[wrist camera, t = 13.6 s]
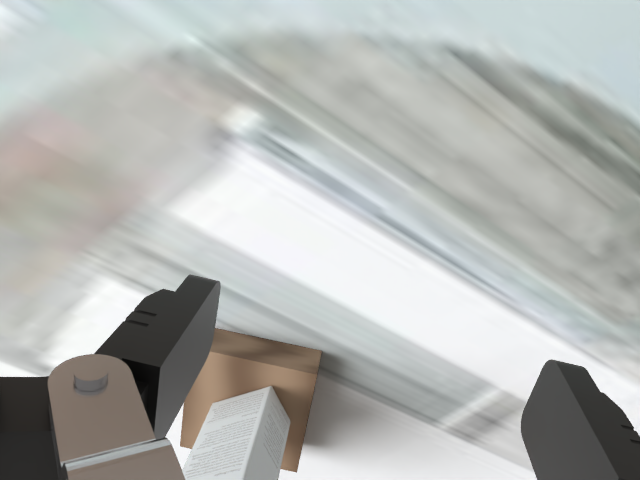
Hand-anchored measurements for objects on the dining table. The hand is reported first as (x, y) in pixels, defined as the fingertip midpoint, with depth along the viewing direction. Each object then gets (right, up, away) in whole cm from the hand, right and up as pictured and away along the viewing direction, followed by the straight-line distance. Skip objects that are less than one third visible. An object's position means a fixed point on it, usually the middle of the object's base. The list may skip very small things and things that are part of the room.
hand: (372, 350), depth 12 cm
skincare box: (-7, -12, +33) cm, 35 cm away
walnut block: (-7, -11, +36) cm, 38 cm away
